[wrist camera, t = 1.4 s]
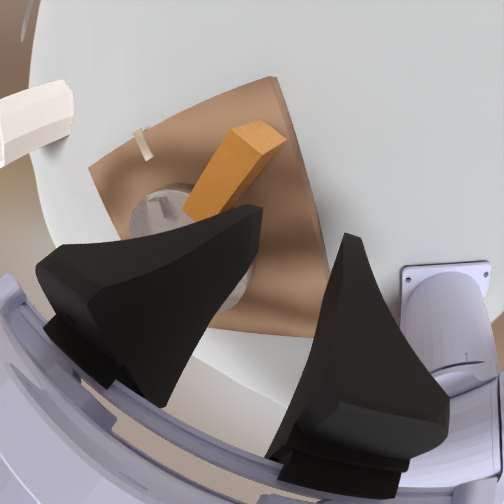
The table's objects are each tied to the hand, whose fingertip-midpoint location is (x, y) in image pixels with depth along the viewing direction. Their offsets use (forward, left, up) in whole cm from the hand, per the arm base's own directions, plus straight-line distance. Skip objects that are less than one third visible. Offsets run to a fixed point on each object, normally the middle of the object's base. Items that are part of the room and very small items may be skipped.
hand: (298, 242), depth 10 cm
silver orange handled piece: (-2, +10, -8) cm, 13 cm away
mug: (+18, +30, -10) cm, 36 cm away
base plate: (-4, +13, -9) cm, 16 cm away
